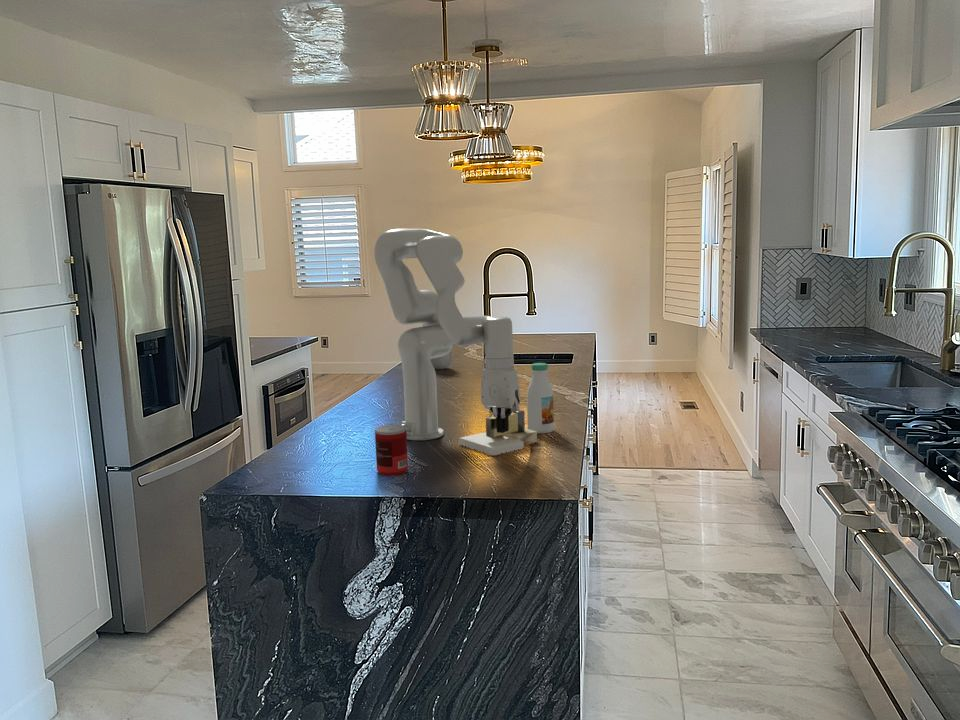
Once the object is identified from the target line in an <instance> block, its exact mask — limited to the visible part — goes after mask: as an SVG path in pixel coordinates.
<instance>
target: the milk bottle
mask: <svg viewBox="0 0 960 720" xmlns="http://www.w3.org/2000/svg"><path fill="white" fill-rule="evenodd" d="M548 367H549V366H548V364H547V363H546V362H534V363H532V364H531V372H532V374H531V375H532V376H531V379H530V381H529V385H528V387H527V392H526V411H527V412H526V413H527V415H526V417H527V418H526V421H527V429H529V430H533V431H536V432H537V434H548V433H552V432H553V431H554V430H555V420H554V419H555V418H554V415H555V414H554V412H555V411H554V390H553V386H552V384H551V382H550V380H549V376H548Z"/></svg>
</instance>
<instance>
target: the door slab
mask: <svg viewBox="0 0 960 720" xmlns="http://www.w3.org/2000/svg"><path fill="white" fill-rule="evenodd" d="M489 417H494V415H489ZM458 439H459V446H462V445H463V446H462V447H465V446H466V448H468V447H469V448H468V449H471V448H472V449H471V450H474V449H475V451H477V450H478V452H480V451H481V453H483V452H484V454H486V453H487V455H490V456H492V455H494V456H498V455H502V454H501V453H503V454H507V453H510V451H511V452H514V450H515V451H519V450H523V449H522V448H525V445H524V442H523V441H521V440H517V439H514V438H510V437H507V436H503V435H500V436H496V437H493V438H490V437H487V436H486V431H485V432H480V433H475V434H470V435H467V436H462V437H459V438H458ZM518 449H519V450H518ZM506 452H507V453H506ZM497 454H498V455H497Z"/></svg>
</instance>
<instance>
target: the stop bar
mask: <svg viewBox="0 0 960 720" xmlns="http://www.w3.org/2000/svg"><path fill="white" fill-rule="evenodd" d="M525 418H526V417H525V410H522V409H521V410H520V409H519V411H516V412H512V413H511V414H510V416H509V417H508V420H509V430H508V431H507V432H504V433H498V432H497V428H496V418H495V417H490V416H489V417H485V432H486V436H487V437H490V438H493V437H496V436H500V435H504V434H508V433H513V432H523V431H525V429H526V427H525V426H526V424H525V423H526V421H525Z"/></svg>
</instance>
